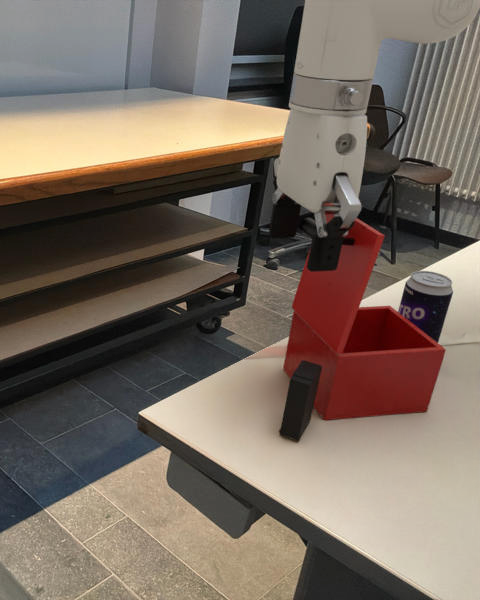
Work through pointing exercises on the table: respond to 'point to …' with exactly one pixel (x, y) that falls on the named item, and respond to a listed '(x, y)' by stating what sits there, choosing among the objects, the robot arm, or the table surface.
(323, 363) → the red box
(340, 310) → the red box lid
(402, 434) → the table surface
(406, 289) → the beverage can
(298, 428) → the ink cartridge
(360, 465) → the table surface
